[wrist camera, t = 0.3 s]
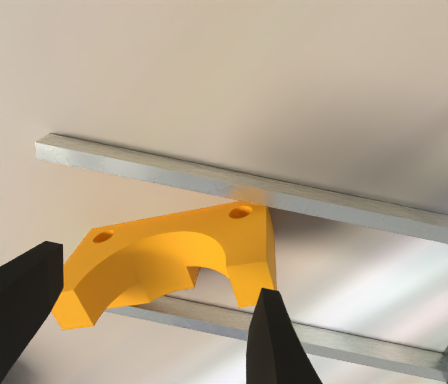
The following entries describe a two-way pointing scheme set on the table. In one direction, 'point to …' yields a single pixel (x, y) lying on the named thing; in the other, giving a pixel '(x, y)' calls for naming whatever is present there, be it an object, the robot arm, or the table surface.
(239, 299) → the pipe clamp
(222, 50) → the table surface
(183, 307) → the rail
